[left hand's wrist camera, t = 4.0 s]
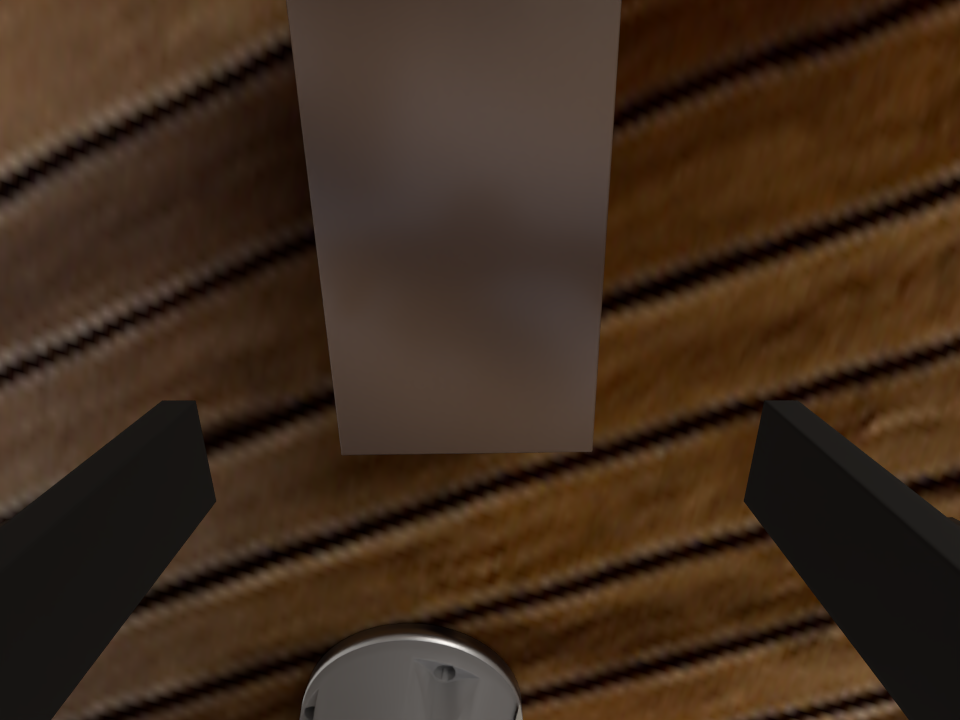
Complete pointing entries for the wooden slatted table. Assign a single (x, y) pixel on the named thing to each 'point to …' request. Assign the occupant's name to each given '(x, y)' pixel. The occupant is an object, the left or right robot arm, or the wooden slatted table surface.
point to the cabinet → (459, 215)
